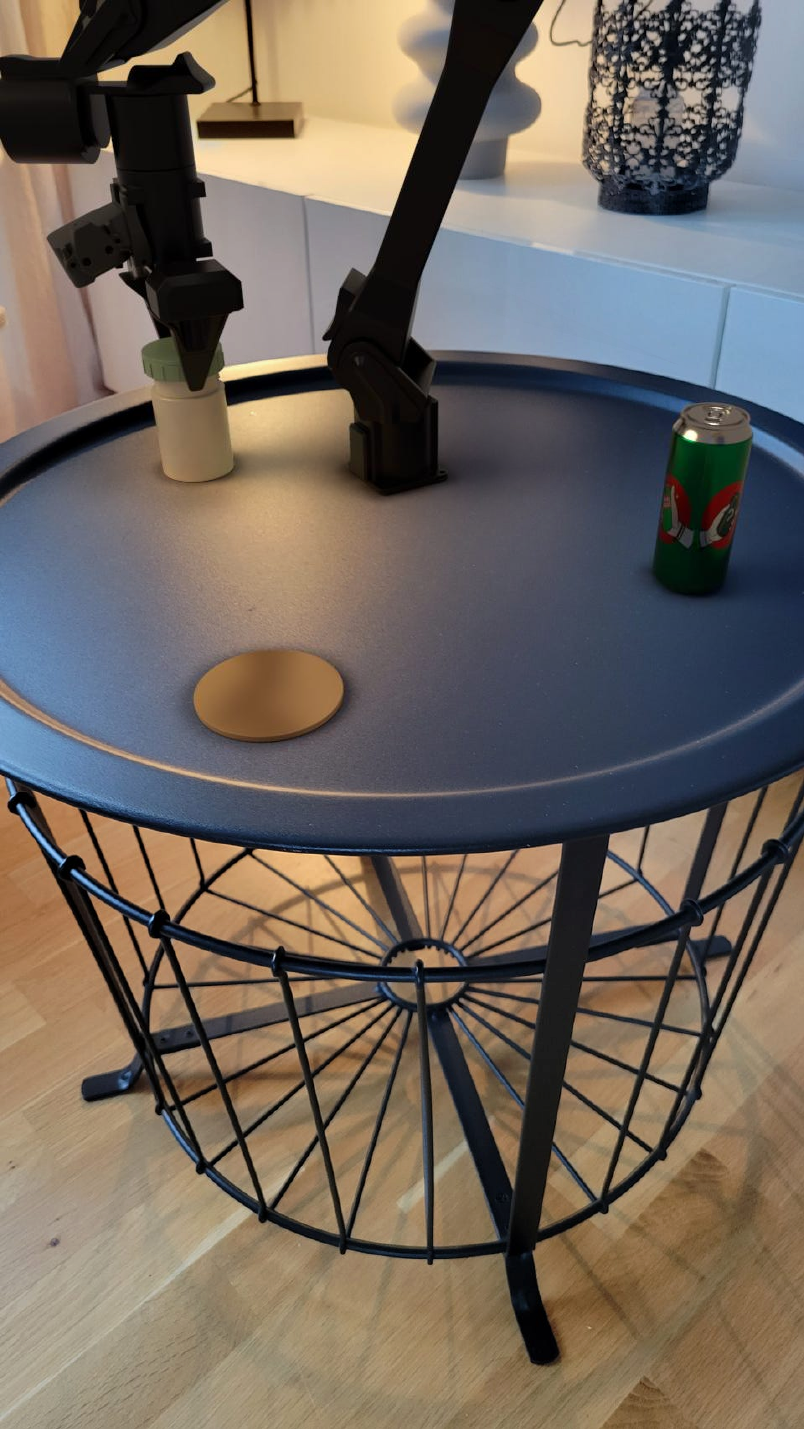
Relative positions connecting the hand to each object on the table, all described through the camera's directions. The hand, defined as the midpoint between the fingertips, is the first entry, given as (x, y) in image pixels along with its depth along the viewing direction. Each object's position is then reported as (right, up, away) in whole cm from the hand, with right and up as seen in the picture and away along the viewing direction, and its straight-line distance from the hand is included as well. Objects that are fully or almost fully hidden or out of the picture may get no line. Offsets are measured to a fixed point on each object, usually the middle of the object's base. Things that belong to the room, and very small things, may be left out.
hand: (185, 377), depth 86 cm
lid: (0, +2, -1) cm, 2 cm away
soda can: (+38, -18, -12) cm, 44 cm away
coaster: (+10, -26, -22) cm, 36 cm away
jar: (0, -6, +5) cm, 8 cm away
